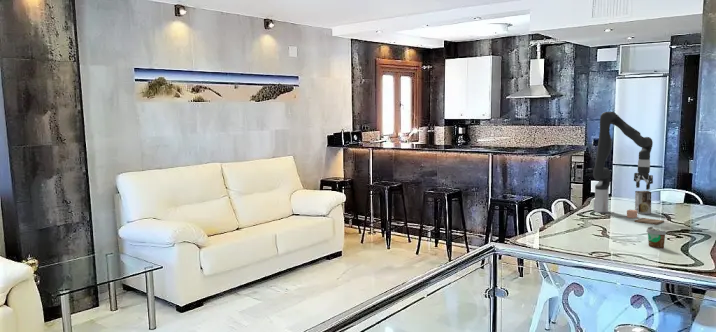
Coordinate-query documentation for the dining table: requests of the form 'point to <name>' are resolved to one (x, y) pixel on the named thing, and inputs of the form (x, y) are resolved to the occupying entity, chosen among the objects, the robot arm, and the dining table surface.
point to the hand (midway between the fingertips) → (642, 188)
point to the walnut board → (649, 221)
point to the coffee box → (643, 202)
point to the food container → (656, 237)
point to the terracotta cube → (631, 213)
